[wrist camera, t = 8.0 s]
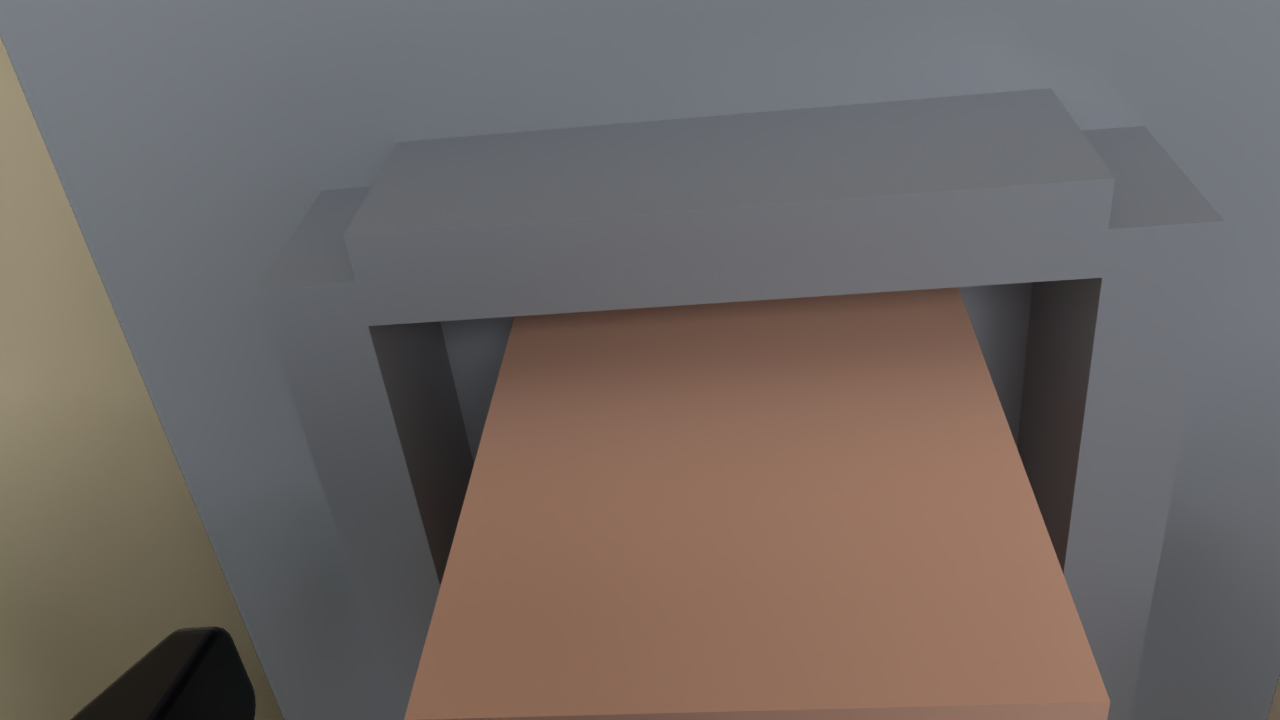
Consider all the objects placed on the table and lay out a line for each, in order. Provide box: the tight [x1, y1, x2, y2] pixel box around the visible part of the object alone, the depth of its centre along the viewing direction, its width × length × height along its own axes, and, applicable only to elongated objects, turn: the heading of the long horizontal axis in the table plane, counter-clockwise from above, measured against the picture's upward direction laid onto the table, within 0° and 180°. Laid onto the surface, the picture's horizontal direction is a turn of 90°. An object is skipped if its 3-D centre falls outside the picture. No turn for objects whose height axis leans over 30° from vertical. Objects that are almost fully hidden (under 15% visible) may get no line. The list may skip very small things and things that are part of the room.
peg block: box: [404, 287, 1110, 720], centre depth 10 cm, size 4×4×5 cm
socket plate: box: [0, 0, 1280, 720], centre depth 11 cm, size 12×12×2 cm
